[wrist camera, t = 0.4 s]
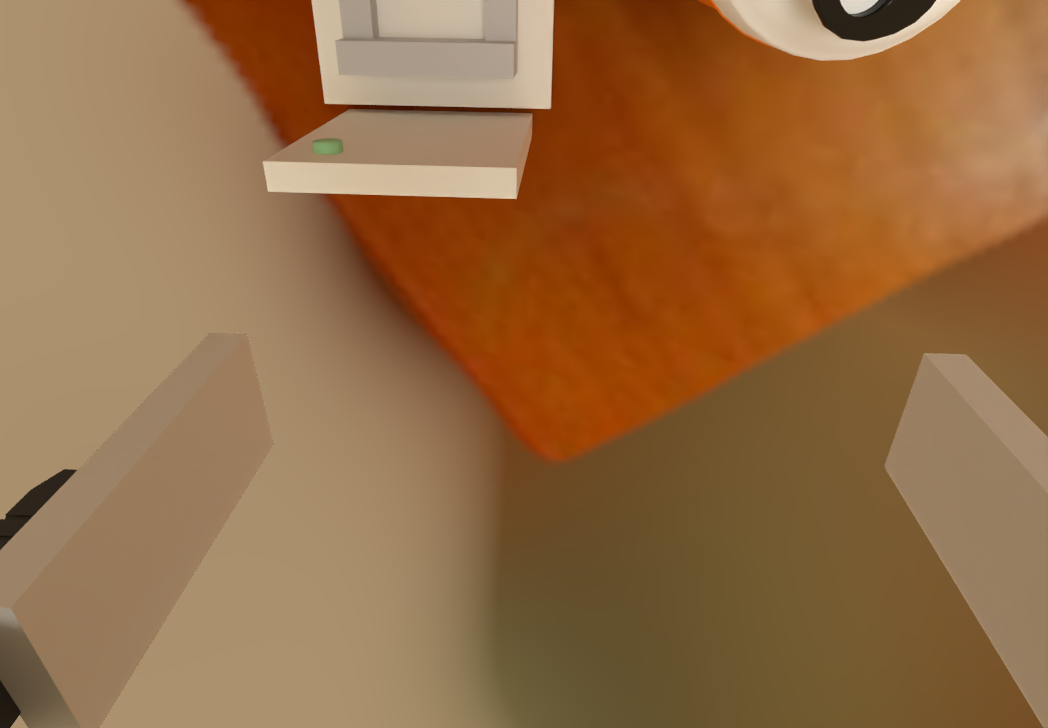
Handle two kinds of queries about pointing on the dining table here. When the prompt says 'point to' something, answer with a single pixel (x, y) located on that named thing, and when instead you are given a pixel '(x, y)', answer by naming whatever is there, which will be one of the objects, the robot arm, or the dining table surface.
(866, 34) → the shaker bottle
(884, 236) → the dining table surface
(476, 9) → the port
